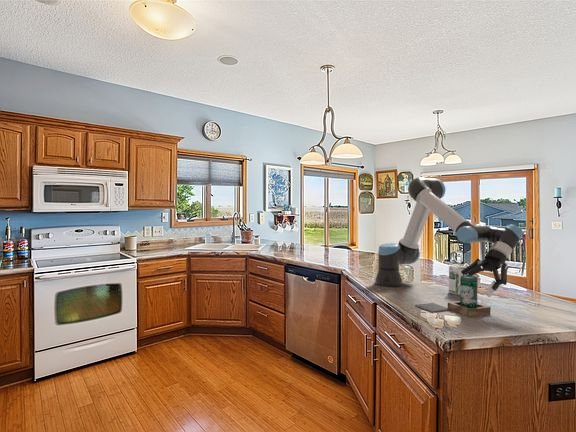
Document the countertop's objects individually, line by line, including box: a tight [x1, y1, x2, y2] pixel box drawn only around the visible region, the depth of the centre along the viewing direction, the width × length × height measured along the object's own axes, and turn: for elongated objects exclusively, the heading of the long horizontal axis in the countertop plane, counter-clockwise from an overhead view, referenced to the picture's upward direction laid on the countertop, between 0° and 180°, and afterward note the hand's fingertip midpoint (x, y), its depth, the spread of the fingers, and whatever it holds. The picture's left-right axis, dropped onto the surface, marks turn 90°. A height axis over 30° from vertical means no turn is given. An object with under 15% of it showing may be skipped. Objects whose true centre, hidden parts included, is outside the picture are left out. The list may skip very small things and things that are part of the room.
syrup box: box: [448, 264, 467, 296], centre depth 170 cm, size 6×6×14 cm
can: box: [459, 275, 479, 308], centre depth 140 cm, size 6×6×15 cm
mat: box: [414, 302, 451, 314], centre depth 145 cm, size 10×10×1 cm
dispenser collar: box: [447, 300, 491, 318], centre depth 140 cm, size 11×11×3 cm
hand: (472, 291), depth 140 cm, fingers open, 13 cm apart
